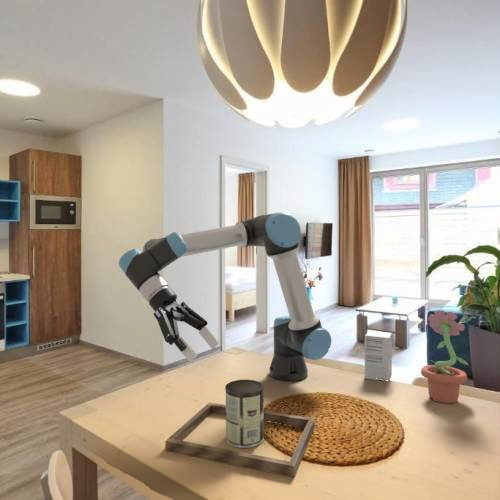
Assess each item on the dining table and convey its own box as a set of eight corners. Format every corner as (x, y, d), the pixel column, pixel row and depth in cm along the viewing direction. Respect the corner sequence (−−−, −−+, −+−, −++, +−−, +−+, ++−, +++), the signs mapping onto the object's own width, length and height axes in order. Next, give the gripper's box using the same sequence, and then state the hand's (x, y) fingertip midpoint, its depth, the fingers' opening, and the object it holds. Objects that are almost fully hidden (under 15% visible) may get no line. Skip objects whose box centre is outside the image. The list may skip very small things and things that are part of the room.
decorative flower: (476, 400, 128) (477, 309, 128) (463, 412, 119) (463, 315, 118) (430, 388, 139) (430, 304, 138) (414, 399, 129) (414, 309, 129)
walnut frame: (165, 450, 97) (165, 440, 97) (209, 410, 120) (209, 402, 120) (294, 477, 86) (294, 466, 86) (314, 427, 109) (314, 418, 109)
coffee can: (242, 425, 110) (242, 376, 110) (271, 437, 104) (271, 385, 103) (217, 439, 102) (217, 386, 102) (246, 453, 96) (246, 396, 96)
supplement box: (368, 371, 158) (368, 330, 157) (392, 374, 154) (392, 332, 153) (364, 378, 149) (364, 335, 149) (389, 382, 145) (389, 337, 145)
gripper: (173, 298, 124) (215, 349, 119) (123, 309, 100) (173, 374, 95) (188, 282, 122) (231, 333, 117) (140, 290, 98) (192, 355, 93)
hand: (205, 352), depth 106 cm, fingers open, 13 cm apart
